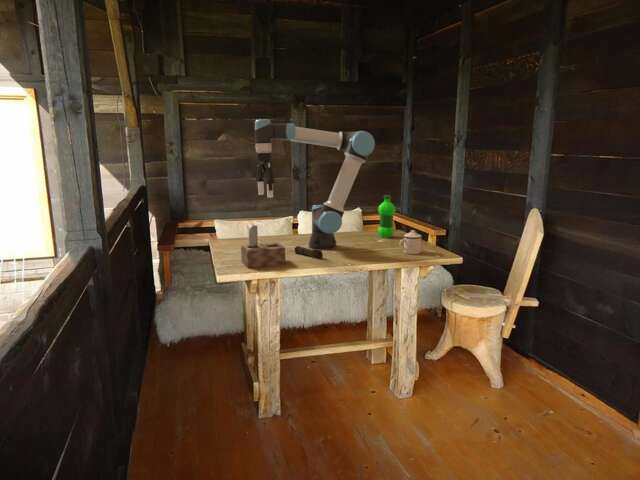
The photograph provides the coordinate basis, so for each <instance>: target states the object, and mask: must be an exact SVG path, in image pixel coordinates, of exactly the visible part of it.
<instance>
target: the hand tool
mask: <svg viewBox="0 0 640 480" xmlns="http://www.w3.org/2000/svg"><path fill="white" fill-rule="evenodd" d="M294 253H295V254H301V255H304V256H309V257H312V259H315V258H317V259H316V260H323V259H324V258H323V252H322V249H311V248H310V249H309V248H306V247H302V246H300V245H297V246H295V247H294Z"/></svg>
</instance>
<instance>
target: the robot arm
mask: <svg viewBox="0 0 640 480" xmlns="http://www.w3.org/2000/svg"><path fill="white" fill-rule="evenodd" d="M254 138H255V145H254V148H255V152H256V154H255V156H256V157H255V160H256V162H257V163H256V164H257V166H256V168H257V169H256V178H255V180H256V181H257V189H258V190H257V191H258V192H257V193H258V196H263V195H265V186H264V183H265V180H264V178H265V179H266V193H267V195H266V196H267V198H268V199H272V198H274V183H275V182H276V181H275V178H274V173H273V167H272V166H273V165H272V163H271V162H269V161H272V159H273V157H272V156H273V155H272V148H273V147H272V140H273V141H274V140H279V141H287V142H289V141H291V142H296V143H302V144H310V145H316V146H323V147H330V148H336V150H337V151H343V152H344V153H343V154H344V156H345V158H344V161H343V163H342V165H341V167H340V170H339V173H338V175H337V178H336V180H335V182H334V184H333V188H332V189H331V192H330V194H329V197H328V200H327V201H325V202H323V204H313V205H312V207H311V234H310V237H309V240H308V247H309V248H310V249H312V250H314V249H318V250H331V249H336V248H337V240H336V237H335V233H337V232H338V231H339V230H340V229H341V228H342V224H343V219H342V218H343V216H344V214H345V210H344V206H345V204H346V201H347V199H348V197H349V194H350V191H351V190H352V187H353V185H354V182H355V180H356V178H357V175H358V173H359V170H360V168H361V166H362V164H363V163H366V162H367V160H368V156H369V155H370V154H371V153H372V152H373V151H374V149H375V138H374V137H373V135H372V134H371V133H369V132H368V131H365V130H358V131H339V132H335V131H327V130H319V129H314V128H306V127H301V126H300V127H299V126H296V124H295V123H288V122H286V123H271V120H270V119H256V120H255V121H254ZM264 176H265V177H264ZM267 198H266V199H267Z"/></svg>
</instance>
